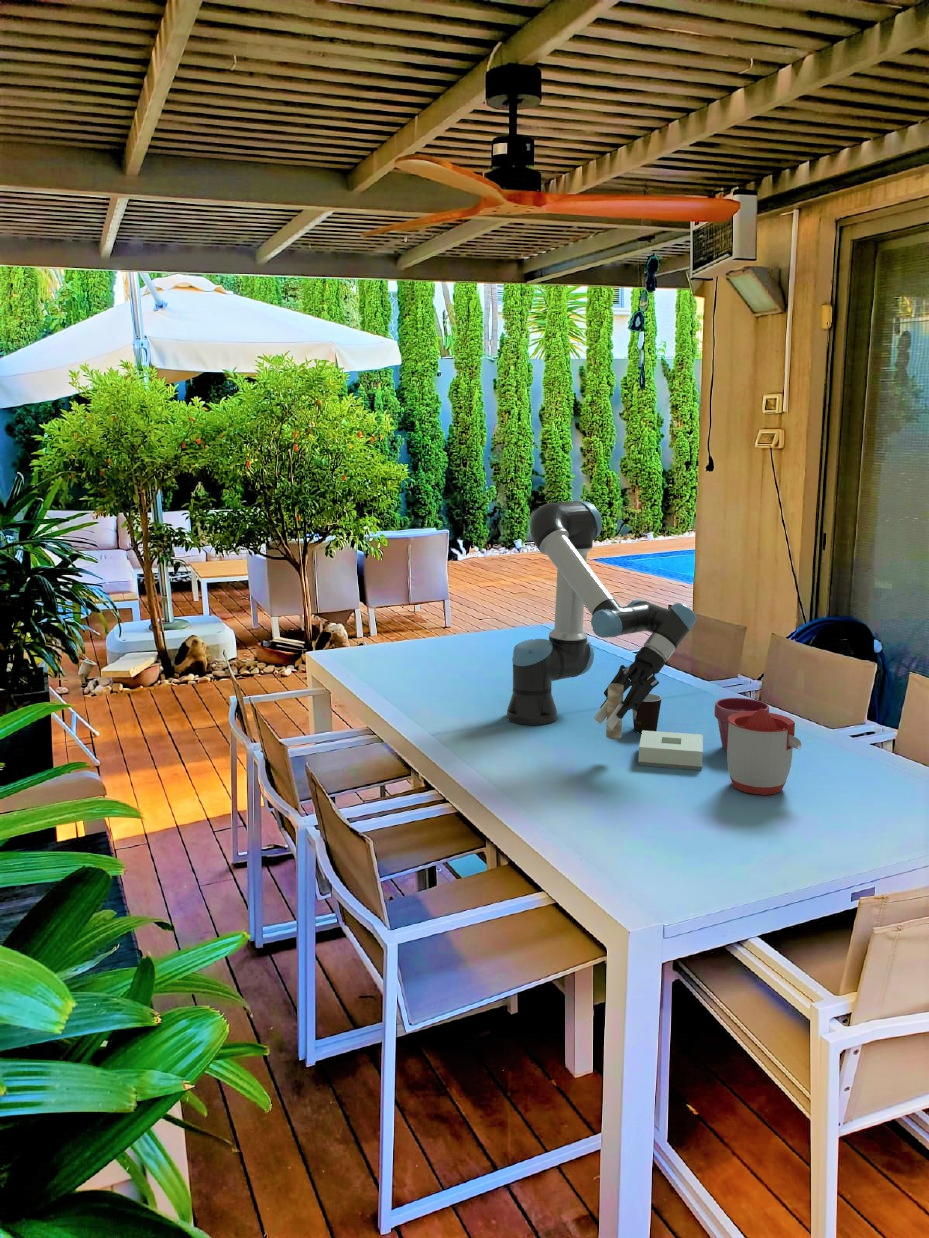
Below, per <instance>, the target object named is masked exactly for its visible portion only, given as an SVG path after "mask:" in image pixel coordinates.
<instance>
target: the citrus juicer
mask: <svg viewBox="0 0 929 1238" xmlns="http://www.w3.org/2000/svg"><path fill="white" fill-rule="evenodd" d="M728 722H729V725H728V744H727V751H726V760H727V763H726V764H727V769H728V773H729V778H730V781H731V783H732V785H733V787H734V788H735V789H736V790H739V791H741V792H744V793H748V794H754V795H764V796H771V795H774V794H778V793H780V792H782V790H783V788H784V786H785V785H786V782H787V779H788V777H789V775H790V769H791V767H792V759H793V749H797V750H801V749H802V741H801V739H799V738H798V737H796V736H795V733H796V732H795V731H796V730H795V729H796V728H795V727H796V722H795V721H794V720H793V719H791V718H790V717H787V716H784V715H781V714H779V713H778V714H777V713H773V712H769V713H768V712H766V711H765V710H764V709H759V710H758V711H749V712H739V713H734V714H732V715H730V716H729V717H728Z"/></svg>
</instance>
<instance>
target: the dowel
mask: <svg viewBox="0 0 929 1238" xmlns="http://www.w3.org/2000/svg"><path fill="white" fill-rule="evenodd" d="M607 687H608V702H607V717H606V721H607V720H608V718H609V717H610V716H611V714H612V713H613V711H614V710H615V709H616V707H617V706H618V705H619V704H622V703H621V701H624V693H625V692H624V685H622V684H617V683H613V684H610V683H608V686H607ZM623 692H624V693H623ZM622 705H623V704H622ZM605 726H606V728H605V730H606V731H605V737H606V738H607V739H609V740H610V739H611V740H619V739H622V733H623V732H622V730H623V729H622V728H623V718H622V719H620V720H619V721H618V723H617V724H616V725H615V727H614V728H613V729H610V728H609V727H608V726H607V725H606V724H605Z"/></svg>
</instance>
